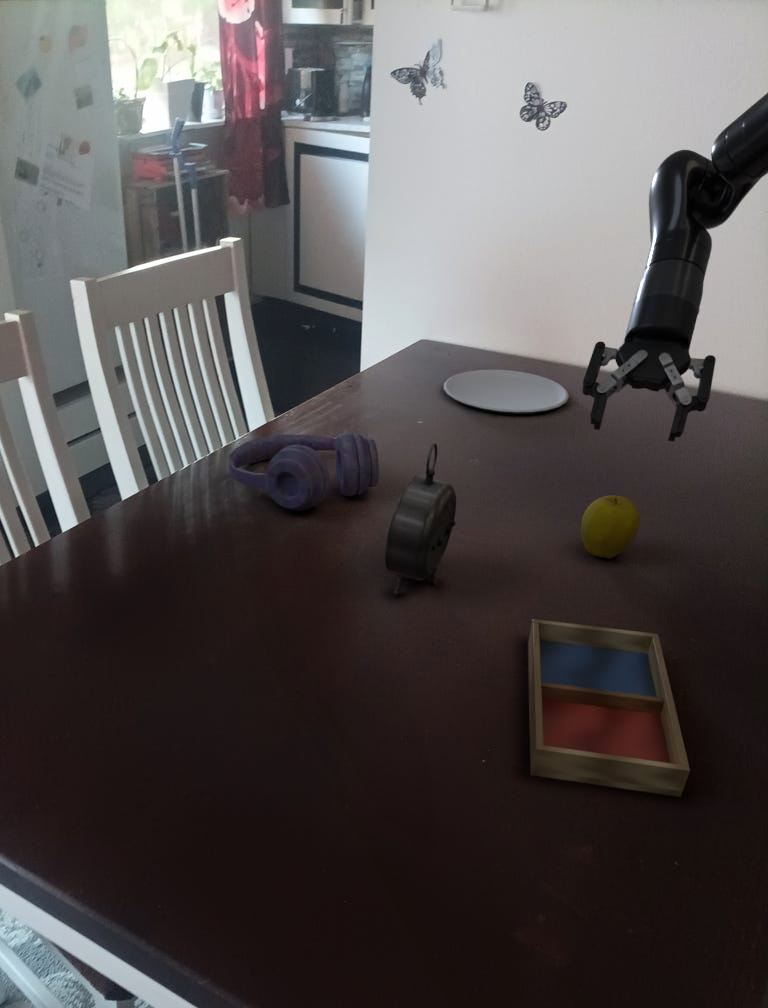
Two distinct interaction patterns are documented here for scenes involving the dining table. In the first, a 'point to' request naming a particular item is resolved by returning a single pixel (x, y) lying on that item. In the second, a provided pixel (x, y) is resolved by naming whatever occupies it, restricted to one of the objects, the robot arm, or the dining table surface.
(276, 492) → the headphones
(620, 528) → the apple
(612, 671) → the sorting tray
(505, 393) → the plate
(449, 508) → the alarm clock
